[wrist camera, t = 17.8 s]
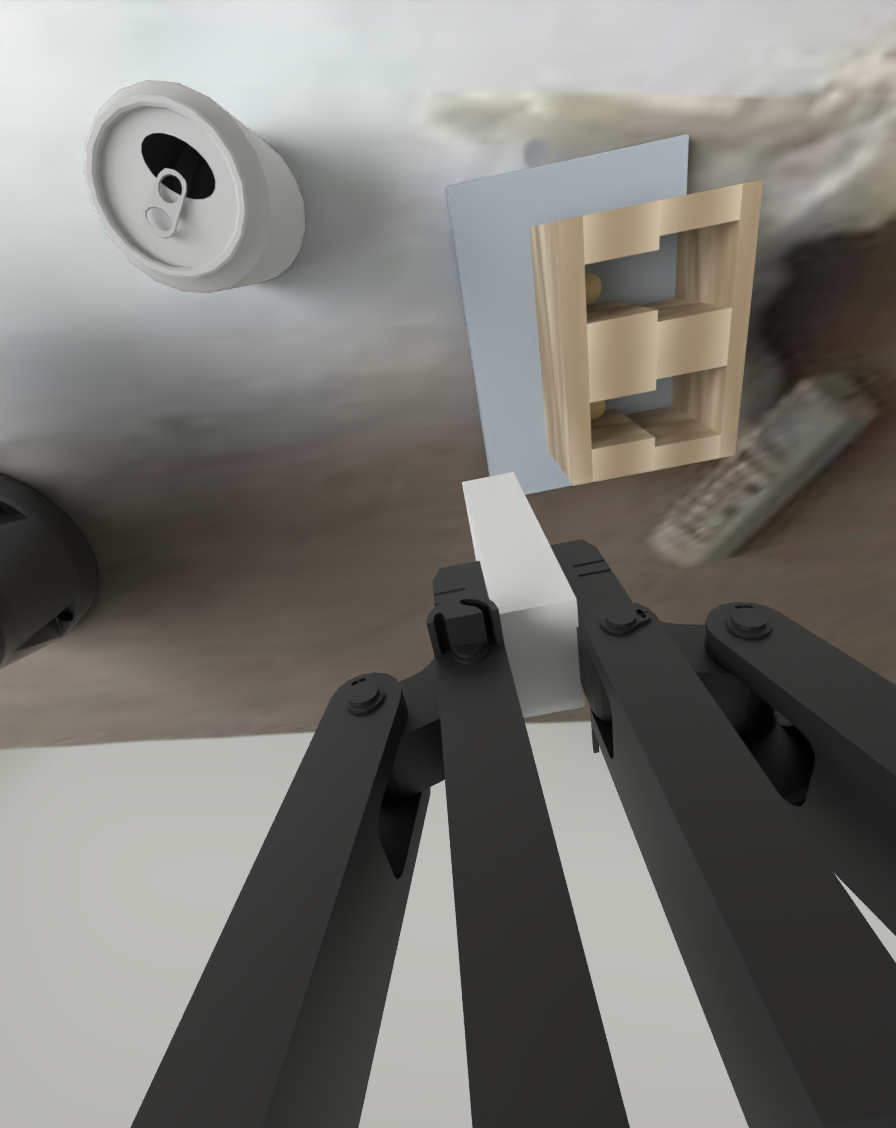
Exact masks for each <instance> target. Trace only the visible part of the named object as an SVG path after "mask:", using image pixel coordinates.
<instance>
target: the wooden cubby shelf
mask: <svg viewBox="0 0 896 1128" xmlns="http://www.w3.org/2000/svg"><path fill="white" fill-rule="evenodd" d="M763 180H764V179H762V180H757V181H752V182H748V183H743V184H738V185H733V186H728V187H723V188H718V189H713V190H708V191H703V192H698V193H693V194H688V195H683V196H678V197H674V198H669V199H664V200H659V201H654V202H649V203H644V204H639V205H634V206H629V207H624V208H619V209H614V210H609V211H604V212H600V213H595V214H590V215H585V216H580V217H575V218H570V219H565V220H560V221H555V222H551V223H546V224H542V225H537V226H533V227H530V239H531V251H532V264H533V276H534V288H535V300H536V313H537V325H538V337H539V349H540V362H541V374H542V386H543V398H544V410H545V423H546V435H547V447H548V451H549V452H550V454H551V455H552V457H553V458H554V459H555V461H556V462H557V463H558V465H559V466H560V468H561V469H562V470H563V472H564V473H565V474H566V476H567V477H568V478H569V480H570V481H571V483H572V484H573V485H574V486H575V485H580V484H585V483H591V482H596V481H601V480H607V479H612V478H617V477H622V476H628V475H633V474H638V473H644V472H649V471H654V470H659V469H665V468H670V467H675V466H681V465H686V464H691V463H697V462H702V461H707V460H712V459H718V458H723V457H728V456H734V455H735V451H736V442H737V432H738V422H739V413H740V403H741V393H742V384H743V374H744V364H745V355H746V345H747V335H748V325H749V316H750V306H751V296H752V287H753V277H754V267H755V258H756V248H757V238H758V229H759V219H760V209H761V199H762V190H763ZM672 233H677V258H676V284H675V298H674V299H669V300H664V301H659V302H654V303H649V304H644V305H639V306H637V305H633V304H628V303H623V302H619V301H614V300H613V301H608V302H602V303H597V304H592V305H587V306H586V287H585V264H590V263H595V262H600V261H605V260H610V259H615V258H620V257H625V256H630V255H635V254H640V253H645V252H650V251H655V250H659V240H660V236H662V235H667V234H672ZM671 376H672V390H671V406H669V407H664V408H658V409H653V410H648V411H643V412H637V413H632V414H627V415H623V414H622V413H621V412H619V411H618V410H617V409H610V410H605V411H604V413H603V414H602V415H601V416H600V417H599V418H597V419H595V420H591V417H590V403H592V402H597V401H602V400H607V399H612V398H618V397H623V396H628V395H633V394H638V393H643V392H649V391H654V390H656V379H661V378H666V377H671Z"/></svg>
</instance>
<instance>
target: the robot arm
mask: <svg viewBox="0 0 896 1128" xmlns="http://www.w3.org/2000/svg"><path fill="white" fill-rule="evenodd" d="M462 485H463V491H464V496H465V502H466V507H467V513H468V518H469V524H470V529H471V535H472V540H473V546H474V551H475V557H476V561H475V562H470V563H465V564H460V565H455V566H450V567H444V568H440V569H439V571H438V573H437V574H436V576H435V578H434V580H433V591H434V602H435V608H434V609H433V610H432V611H431V612H430V614H429V615H428V619H427V627H428V631H429V635H430V639H431V643H432V646H433V650H434V654H435V658H434V659H433V661H432V662H431V663H430V664H429V665H428V666H427V667H426V668H425V669H423V670H422V671H421V672H419V673H417V674H415V675H414V676H412V677H410V678H407V679H405V680H403V681H400V682H398V681H397V679H395V678H393V677H392V676H390V675H388V674H384V673H376V672H375V673H369V674H362V675H360V676H358V677H355V678H353V679H351V680H349V681H347V682H346V683H345V684H343V685H342V686H341V687H340V688H338V690H337V691H336V692H335V694H334V695H333V697H332V698H331V700H330V702H329V704H328V706H327V708H326V710H325V713H324V715H323V717H322V719H321V721H320V723H319V725H318V728H317V730H316V732H315V734H314V736H313V738H312V741H311V742H310V745H309V747H308V749H307V751H306V753H305V755H304V758H303V760H302V762H301V764H300V766H299V768H298V770H297V773H296V775H295V777H294V779H293V781H292V783H291V785H290V788H289V790H288V792H287V794H286V796H285V798H284V800H283V803H282V805H281V807H280V809H279V811H278V813H277V815H276V817H275V820H274V822H273V824H272V826H271V828H270V830H269V832H268V835H267V837H266V839H265V841H264V843H263V845H262V847H261V850H260V852H259V854H258V856H257V858H256V861H255V862H254V865H253V867H252V869H251V871H250V873H249V875H248V877H247V879H246V882H245V884H244V886H243V888H242V890H241V892H240V894H239V897H238V899H237V901H236V903H235V905H234V907H233V910H232V912H231V914H230V916H229V918H228V920H227V922H226V924H225V927H224V929H223V931H222V933H221V935H220V937H219V939H218V942H217V944H216V946H215V948H214V950H213V952H212V954H211V957H210V959H209V961H208V963H207V965H206V967H205V969H204V972H203V974H202V976H201V978H200V980H199V982H198V984H197V986H196V989H195V991H194V993H193V995H192V997H191V1000H190V1002H189V1004H188V1006H187V1008H186V1010H185V1012H184V1014H183V1017H182V1019H181V1021H180V1023H179V1025H178V1027H177V1029H176V1031H175V1034H174V1036H173V1038H172V1040H171V1042H170V1044H169V1046H168V1049H167V1051H166V1053H165V1055H164V1057H163V1059H162V1061H161V1064H160V1066H159V1068H158V1070H157V1072H156V1074H155V1076H154V1079H153V1081H152V1083H151V1085H150V1087H149V1089H148V1091H147V1093H146V1096H145V1098H144V1100H143V1102H142V1104H141V1107H140V1108H139V1111H138V1113H137V1115H136V1117H135V1119H134V1121H133V1124H132V1126H131V1128H358V1127H359V1122H360V1117H361V1112H362V1108H363V1104H364V1099H365V1094H366V1090H367V1085H368V1080H369V1076H370V1071H371V1066H372V1061H373V1057H374V1052H375V1047H376V1043H377V1038H378V1034H379V1029H380V1025H381V1020H382V1015H383V1010H384V1006H385V1001H386V996H387V992H388V987H389V983H390V978H391V974H392V969H393V964H394V960H395V955H396V950H397V946H398V941H399V936H400V931H401V927H402V922H403V917H404V913H405V908H406V904H407V899H408V894H409V890H410V885H411V881H412V876H413V871H414V866H415V862H416V857H417V853H418V848H419V843H420V839H421V834H422V829H423V825H424V820H425V816H426V811H427V806H428V802H429V797H430V787H431V786H433V785H435V784H437V783H439V782H441V781H443V780H445V786H446V798H447V811H448V823H449V836H450V849H451V862H452V874H453V887H454V899H455V912H456V925H457V937H458V950H459V961H460V975H461V987H462V1001H463V1013H464V1026H465V1038H466V1051H467V1064H468V1076H469V1089H470V1102H471V1115H472V1126H473V1128H630V1127H629V1123H628V1120H627V1115H626V1111H625V1108H624V1104H623V1100H622V1097H621V1092H620V1088H619V1084H618V1081H617V1077H616V1073H615V1069H614V1066H613V1062H612V1057H611V1054H610V1050H609V1046H608V1042H607V1039H606V1034H605V1031H604V1027H603V1023H602V1019H601V1015H600V1011H599V1007H598V1003H597V1000H596V996H595V992H594V988H593V984H592V980H591V977H590V973H589V969H588V965H587V961H586V957H585V954H584V949H583V946H582V942H581V938H580V934H579V931H578V927H577V922H576V919H575V915H574V912H573V907H572V903H571V899H570V896H569V892H568V888H567V884H566V880H565V876H564V872H563V868H562V865H561V861H560V857H559V853H558V849H557V845H556V841H555V838H554V834H553V830H552V826H551V822H550V818H549V814H548V811H547V807H546V803H545V799H544V795H543V791H542V788H541V783H540V780H539V776H538V772H537V768H536V764H535V760H534V756H533V753H532V749H531V745H530V741H529V737H528V733H527V729H526V726H525V722H524V718H526V717H532V716H537V715H543V714H548V713H554V712H559V711H564V710H570V709H575V708H581V707H585V706H584V692H585V695H586V697H587V700H588V702H589V705H590V712H591V727H592V741H593V750H594V753H597V752H599V746H600V748H601V751H602V754H603V756H604V759H605V761H606V764H607V766H608V769H609V771H610V774H611V777H612V779H613V781H614V784H615V787H616V789H617V792H618V794H619V797H620V800H621V802H622V804H623V807H624V810H625V812H626V815H627V817H628V820H629V822H630V825H631V828H632V830H633V832H634V835H635V838H636V840H637V843H638V846H639V848H640V851H641V853H642V855H643V858H644V861H645V863H646V866H647V868H648V871H649V874H650V876H651V879H652V881H653V884H654V886H655V889H656V891H657V894H658V897H659V899H660V902H661V904H662V907H663V909H664V912H665V914H666V917H667V919H668V922H669V925H670V927H671V930H672V932H673V935H674V937H675V940H676V942H677V945H678V947H679V950H680V953H681V955H682V958H683V960H684V963H685V965H686V968H687V970H688V973H689V976H690V978H691V981H692V983H693V986H694V988H695V991H696V994H697V996H698V999H699V1001H700V1004H701V1006H702V1009H703V1011H704V1014H705V1017H706V1019H707V1022H708V1024H709V1027H710V1029H711V1032H712V1034H713V1037H714V1040H715V1042H716V1045H717V1047H718V1050H719V1052H720V1055H721V1057H722V1060H723V1062H724V1065H725V1068H726V1070H727V1073H728V1075H729V1078H730V1080H731V1083H732V1086H733V1088H734V1091H735V1093H736V1096H737V1098H738V1101H739V1103H740V1106H741V1108H742V1111H743V1113H744V1116H745V1119H746V1121H747V1124H748V1126H749V1128H896V963H895V961H894V960H893V958H892V957H891V955H890V954H889V953H888V951H887V950H886V948H885V947H884V946H883V944H882V942H881V941H880V939H879V938H878V937H877V935H876V934H875V932H874V931H873V929H872V928H871V926H870V925H869V923H868V922H867V921H866V919H865V918H864V916H863V915H862V913H861V912H860V911H859V909H858V908H857V906H856V905H855V903H854V902H853V900H852V899H851V898H850V896H849V894H848V893H847V892H846V890H845V889H844V887H843V886H842V884H841V883H840V881H839V880H838V879H837V877H836V876H835V874H836V875H837V876H838V877H839V878H840V879H841V880H842V881H843V883H844V884H845V885H846V886H847V887H848V888H849V889H850V890H851V891H852V892H853V893H854V894H855V895H856V896H857V897H858V898H859V899H860V900H861V901H862V902H863V903H864V904H865V905H866V906H867V907H868V908H869V909H870V910H871V911H872V912H873V913H874V914H875V915H876V916H877V917H878V918H879V919H880V920H881V921H882V922H883V923H884V924H885V925H886V927H888V929H889V930H890V931H891V932H892V933H893V934H894V935H895V936H896V685H894V684H893V683H891V682H889V681H888V680H886V679H885V678H883V677H882V676H880V675H878V674H877V673H875V672H874V671H872V670H870V669H869V668H867V667H866V666H864V665H862V664H861V663H859V662H858V661H856V660H855V659H853V658H851V657H850V656H848V655H847V654H845V653H843V652H842V651H840V650H839V649H837V648H835V647H834V646H832V645H831V644H829V643H827V642H826V641H824V640H823V639H821V638H820V637H818V636H816V635H815V634H813V633H812V632H810V631H808V630H807V629H805V628H804V627H802V626H800V625H799V624H797V623H796V622H794V621H792V620H791V619H789V618H788V617H786V616H785V615H783V614H781V613H780V612H778V611H775V610H773V609H771V608H769V607H767V606H763V605H758V604H754V603H737V602H734V603H729V604H725V605H720V606H719V607H717V608H715V609H713V610H712V611H710V613H709V615H708V617H707V618H706V625H686V624H671V623H665V622H661V621H660V620H659V619H658V618H657V616H656V615H655V614H654V613H653V612H652V611H651V610H649V609H648V608H646V607H644V606H641V605H639V604H637V603H633V602H632V601H631V599H630V598H629V596H628V595H627V593H626V592H625V590H624V589H623V587H622V586H621V584H620V583H619V581H618V579H617V578H616V576H615V575H614V573H613V572H612V571H611V569H610V567H609V566H608V564H607V563H606V562H605V560H604V558H603V556H602V555H601V553H600V552H599V550H598V549H597V548H596V547H595V546H593V545H591V544H589V543H587V542H586V541H584V540H582V539H581V540H576V541H571V542H565V543H560V544H555V545H549V543H548V541H547V539H546V537H545V535H544V533H543V531H542V529H541V527H540V525H539V523H538V521H537V519H536V517H535V515H534V513H533V511H532V509H531V506H530V504H529V502H528V500H527V498H526V496H525V494H524V492H523V490H522V488H521V486H520V484H519V482H518V480H517V478H516V476H515V474H514V472H510V473H505V474H500V475H495V476H490V477H485V478H480V479H475V480H470V481H465V482H462ZM97 584H98V576H97V569H96V564H95V560H94V557H93V555H92V552H91V550H90V548H89V546H88V544H87V542H86V540H85V539H84V537H83V536H82V534H81V533H80V531H79V530H78V529H77V527H76V526H75V525H74V524H73V523H72V521H71V520H70V519H69V518H68V517H67V516H66V515H65V514H64V513H63V512H62V511H61V510H60V509H59V508H57V507H56V506H55V505H54V504H53V503H51V502H50V501H49V500H47V499H46V498H45V497H43V496H42V495H40V494H39V493H37V492H36V491H34V490H32V489H31V488H29V487H27V486H25V485H23V484H21V483H19V482H17V481H15V480H13V479H10V478H8V477H6V476H3V475H0V669H1V668H3V667H5V666H7V665H9V664H11V663H13V662H15V661H17V660H19V659H21V658H23V657H25V656H27V655H29V654H31V653H33V652H35V651H37V650H39V649H41V648H43V647H45V646H47V645H49V644H51V643H53V642H55V641H57V640H58V639H60V638H61V637H63V636H64V635H65V634H67V633H68V632H69V631H70V630H71V629H72V628H73V627H74V626H75V625H76V624H77V622H78V621H79V620H80V619H81V618H82V617H83V616H84V615H85V614H86V612H87V611H88V610H89V608H90V607H91V605H92V603H93V601H94V598H95V595H96V591H97ZM583 690H584V692H583ZM833 872H834V873H835V874H834V873H833Z"/></svg>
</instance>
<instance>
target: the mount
mask: <svg viewBox="0 0 896 1128" xmlns="http://www.w3.org/2000/svg"><path fill="white" fill-rule="evenodd" d="M688 143H689V134H686V135H681V136H677V137H672V138H667V139H663V140H658V141H654V142H649V143H644V144H640V145H635V146H630V147H626V148H621V149H617V150H612V151H607V152H603V153H598V154H594V155H589V156H584V157H580V158H575V159H571V160H566V161H561V162H557V163H552V164H548V165H543V166H539V167H534V168H529V169H525V170H520V171H515V172H511V173H506V174H502V175H497V176H492V177H488V178H483V179H479V180H474V181H469V182H465V183H460V184H456V185H451V186H447V187H446V188H445V190H446V196H447V203H448V209H449V216H450V222H451V229H452V235H453V242H454V249H455V255H456V262H457V268H458V275H459V281H460V288H461V294H462V301H463V307H464V314H465V320H466V327H467V334H468V340H469V347H470V353H471V360H472V366H473V373H474V379H475V386H476V392H477V399H478V405H479V412H480V419H481V425H482V432H483V438H484V445H485V451H486V458H487V464H488V471H489V477H490V476H495V475H500V474H505V473H510V472H514V474H515V476H516V478H517V480H518V482H519V484H520V486H521V488H522V490H523V492H524V494H525V495H526V494H531V493H536V492H541V491H547V490H552V489H557V488H562V487H567V486H572V485H573V484H572V483H571V481H570V480H569V478H568V477H567V476H566V474H565V473H564V472H563V470H562V469H561V468H560V466H559V465H558V463H557V462H556V461H555V459H554V458H553V457H552V455H551V454H550V452H549V451H548V447H547V435H546V423H545V410H544V398H543V386H542V374H541V362H540V349H539V337H538V325H537V313H536V300H535V288H534V276H533V264H532V251H531V239H530V227H533V226H537V225H542V224H546V223H551V222H555V221H560V220H565V219H570V218H575V217H580V216H585V215H590V214H595V213H600V212H604V211H609V210H614V209H619V208H624V207H629V206H634V205H639V204H644V203H649V202H654V201H659V200H664V199H669V198H674V197H678V196H683V195H687V170H688ZM676 258H677V233H672V234H667V235H662V236H660V240H659V250H655V251H650V252H645V253H640V254H635V255H630V256H625V257H620V258H615V259H610V260H605V261H600V262H595V263H590V264H585V287H586V306H587V305H592V304H597V303H602V302H608V301H613V300H614V301H619V302H623V303H628V304H633V305H637V306H639V305H644V304H649V303H654V302H659V301H664V300H669V299H674V298H675V284H676ZM671 390H672V376H671V377H666V378H661V379H656V390H654V391H649V392H643V393H638V394H633V395H628V396H623V397H618V398H612V399H607V400H602V401H597V402H592V403H590V417H591V420H595V419H597V418H599V417H600V416H601V415H602V414H603V413H604V411H605V410H610V409H617V410H618V411H619V412H621V413H622V414H623V415H627V414H632V413H637V412H643V411H648V410H653V409H658V408H664V407H669V406H671Z"/></svg>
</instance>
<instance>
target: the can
mask: <svg viewBox="0 0 896 1128" xmlns="http://www.w3.org/2000/svg"><path fill="white" fill-rule="evenodd" d="M84 173H85V177H86V181H87V186H88V190H89V195H90V199H91V202H92V204H93V206H94V208H95V210H96V212H97V214H98V216H99V218H100V220H101V222H102V224H103V226H104V228H105V230H106V232H107V234H108V236H109V237H110V238H111V239H112V241H113V242H114V243H115V244H116V245H117V247H118V248H119V249H120V250H121V251H122V253H123V254H124V255H125V256H126V257H127V259H128V260H129V261H130V262H131V263H132V264H134V265H135V266H136V267H138V268H139V269H140V270H142V271H143V272H144V273H146V274H147V275H149V276H150V277H151V278H153V279H154V280H155V281H157V282H160V283H163V284H165V285H168V286H170V287H173V288H176V289H178V290H181V291H186V292H202V293H211V292H216V291H221V290H226V289H231V288H236V287H241V286H246V285H251V284H256V283H260V282H263V281H267V280H270V279H273V278H276V277H277V276H278V275H280V274H281V273H282V272H283V271H285V270H286V269H287V268H289V267H290V266H291V264H292V263H293V261H294V259H295V258H296V256H297V254H298V253H299V251H300V249H301V246H302V241H303V237H304V232H305V228H306V224H305V208H304V201H303V198H302V195H301V192H300V189H299V186H298V183H297V180H296V178H295V177H294V175H293V173H292V172H291V170H290V169H289V167H288V166H287V164H286V163H285V161H284V159H283V158H282V157H281V156H280V155H279V154H278V153H277V152H276V151H274V150H273V149H272V148H271V147H270V146H269V145H268V144H267V143H266V142H265V141H263V140H262V139H261V138H260V137H258V136H257V135H256V134H255V133H253V132H252V131H251V130H250V129H248V128H247V127H246V126H245V125H243V124H242V123H241V122H240V121H238V120H237V119H236V118H234V117H233V116H232V115H231V114H229V113H228V112H227V111H226V110H224V109H223V108H222V107H221V106H219V105H218V104H217V103H216V102H214V101H213V100H212V99H211V98H209V97H207V96H205V95H203V94H201V93H199V92H197V91H194V90H192V89H190V88H188V87H186V86H184V85H182V84H180V83H174V82H163V81H152V80H146V81H143V82H140V83H137V84H134V85H132V86H129V87H126V88H123V89H120V90H119V91H118V92H117V93H116V94H115V95H114V96H113V97H112V98H111V99H110V100H109V101H108V102H107V103H106V104H105V105H103V106H102V107H101V108H100V109H99V111H98V114H97V116H96V118H95V120H94V123H93V125H92V128H91V130H90V132H89V135H88V137H87V140H86V144H85V163H84Z"/></svg>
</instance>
